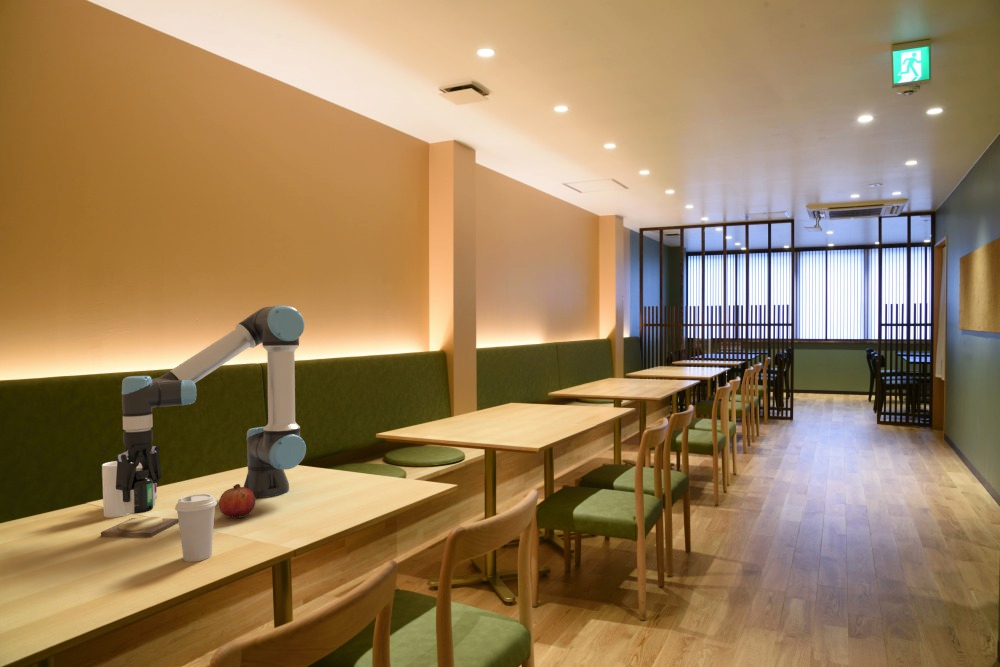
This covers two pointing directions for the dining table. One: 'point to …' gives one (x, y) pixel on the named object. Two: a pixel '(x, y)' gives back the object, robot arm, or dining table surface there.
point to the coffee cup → (196, 525)
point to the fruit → (237, 502)
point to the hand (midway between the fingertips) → (140, 508)
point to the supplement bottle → (142, 491)
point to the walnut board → (140, 527)
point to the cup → (112, 492)
